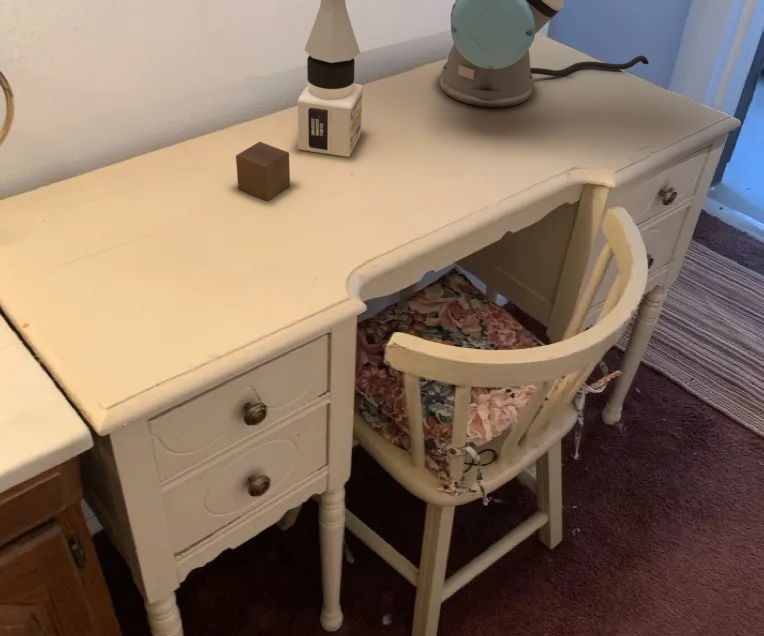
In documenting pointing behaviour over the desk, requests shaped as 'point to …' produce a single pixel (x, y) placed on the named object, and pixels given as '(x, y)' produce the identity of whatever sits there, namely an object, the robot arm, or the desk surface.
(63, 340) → the desk surface
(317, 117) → the container
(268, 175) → the walnut block
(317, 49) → the flask
